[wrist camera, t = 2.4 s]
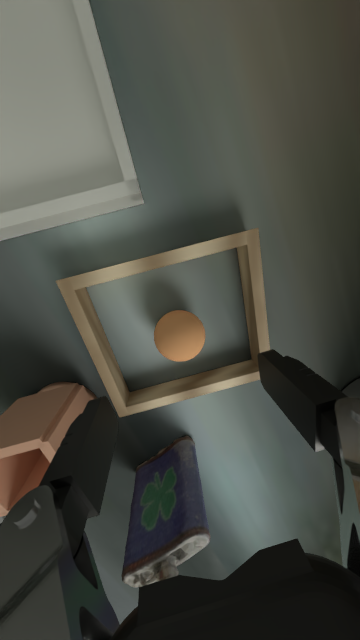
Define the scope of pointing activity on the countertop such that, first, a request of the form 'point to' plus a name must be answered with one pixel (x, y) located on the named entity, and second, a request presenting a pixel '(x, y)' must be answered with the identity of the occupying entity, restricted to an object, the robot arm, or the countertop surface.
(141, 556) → the flask
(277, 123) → the countertop surface
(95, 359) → the corral
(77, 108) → the tray
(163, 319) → the ball
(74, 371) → the countertop surface
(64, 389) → the cup
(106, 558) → the countertop surface
